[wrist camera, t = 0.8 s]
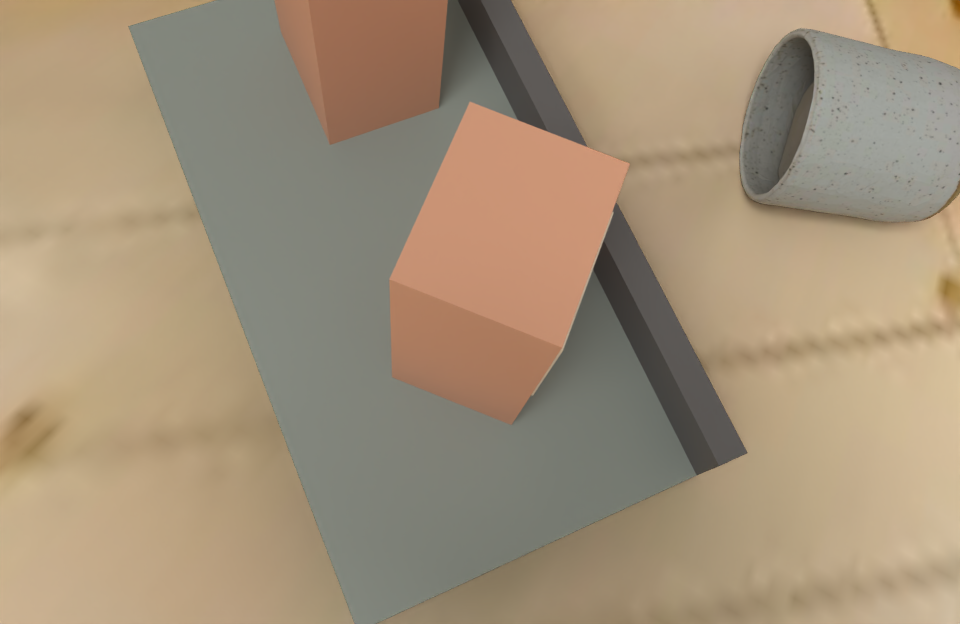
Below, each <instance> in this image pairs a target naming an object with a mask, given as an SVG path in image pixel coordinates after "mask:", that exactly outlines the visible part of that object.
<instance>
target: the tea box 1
mask: <svg viewBox="0 0 960 624" xmlns="http://www.w3.org/2000/svg"><path fill="white" fill-rule="evenodd" d="M274 1H275V6H276V11H277V15H278V20H279V25H280V30H281V33H282V35H283V38H284V40H285V42H286V45H287V47H288V49H289V52H290V54H291V56H292V59H293V61H294V63H295V65H296V68H297V70H298V72H299V75H300V77H301V79H302V82H303V84H304V86H305V89H306V91H307V93H308V95H309V98H310V100H311V102H312V105H313V107H314V109H315V112H316V114H317V116H318V119H319V121H320V123H321V125H322V128H323V130H324V132H325V135H326V137H327V139H328V142H329V144H330V145H331V144H334V143H337V142H340V141H343V140H346V139H349V138H352V137H355V136H358V135H361V134H364V133H367V132H370V131H373V130H376V129H379V128H382V127H385V126H388V125H391V124H394V123H397V122H399V121H402V120H405V119H408V118H411V117H414V116H417V115H420V114H423V113H426V112H429V111H432V110H435V109H438V108H439V100H440V88H441V76H442V64H443V52H444V40H445V28H446V16H447V4H448V0H274Z"/></svg>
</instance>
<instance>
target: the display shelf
mask: <svg viewBox="0 0 960 624" xmlns="http://www.w3.org/2000/svg"><path fill="white" fill-rule="evenodd" d="M128 27H129V29H130V32H131V35H132V37H133V40H134V42H135V45H136V48H137V50H138V53H139V56H140V58H141V61H142V64H143V66H144V69H145V72H146V74H147V77H148V79H149V82H150V85H151V87H152V90H153V93H154V95H155V98H156V101H157V103H158V106H159V108H160V111H161V114H162V116H163V119H164V122H165V124H166V127H167V130H168V132H169V135H170V138H171V140H172V143H173V145H174V148H175V151H176V153H177V156H178V159H179V161H180V164H181V167H182V169H183V172H184V174H185V177H186V180H187V182H188V185H189V188H190V190H191V193H192V196H193V198H194V201H195V204H196V206H197V209H198V211H199V214H200V217H201V219H202V222H203V225H204V227H205V230H206V233H207V235H208V238H209V240H210V243H211V246H212V248H213V251H214V254H215V256H216V259H217V262H218V264H219V267H220V270H221V272H222V275H223V277H224V280H225V283H226V285H227V288H228V291H229V293H230V296H231V299H232V301H233V304H234V306H235V309H236V312H237V314H238V317H239V320H240V322H241V325H242V328H243V330H244V333H245V336H246V338H247V341H248V343H249V346H250V349H251V351H252V354H253V357H254V359H255V362H256V365H257V367H258V370H259V372H260V375H261V378H262V380H263V383H264V386H265V388H266V391H267V394H268V396H269V399H270V402H271V404H272V407H273V409H274V412H275V415H276V417H277V420H278V423H279V425H280V428H281V431H282V433H283V436H284V438H285V441H286V444H287V446H288V449H289V452H290V454H291V457H292V460H293V462H294V465H295V468H296V470H297V473H298V475H299V478H300V481H301V483H302V486H303V489H304V491H305V494H306V497H307V499H308V502H309V505H310V507H311V510H312V512H313V515H314V518H315V520H316V523H317V526H318V528H319V531H320V534H321V536H322V539H323V541H324V544H325V547H326V549H327V552H328V555H329V557H330V560H331V563H332V565H333V568H334V571H335V573H336V576H337V578H338V581H339V584H340V586H341V589H342V592H343V594H344V597H345V600H346V602H347V605H348V607H349V610H350V613H351V615H352V618H353V621H354V623H355V624H376V623H379V622H381V621H383V620H385V619H387V618H389V617H392V616H394V615H396V614H398V613H400V612H402V611H405V610H407V609H409V608H411V607H413V606H415V605H417V604H420V603H422V602H424V601H426V600H428V599H430V598H433V597H435V596H437V595H439V594H441V593H443V592H446V591H448V590H450V589H452V588H454V587H456V586H459V585H461V584H463V583H465V582H467V581H469V580H471V579H474V578H476V577H478V576H480V575H482V574H484V573H487V572H489V571H491V570H493V569H495V568H497V567H500V566H502V565H504V564H506V563H508V562H510V561H513V560H515V559H517V558H519V557H521V556H523V555H525V554H528V553H530V552H532V551H534V550H536V549H538V548H541V547H543V546H545V545H547V544H549V543H551V542H554V541H556V540H558V539H560V538H562V537H564V536H567V535H569V534H571V533H573V532H575V531H577V530H579V529H582V528H584V527H586V526H588V525H590V524H592V523H595V522H597V521H599V520H601V519H603V518H605V517H608V516H610V515H612V514H614V513H616V512H618V511H621V510H623V509H625V508H627V507H629V506H631V505H633V504H636V503H638V502H640V501H642V500H644V499H646V498H649V497H651V496H653V495H655V494H657V493H659V492H662V491H664V490H666V489H668V488H670V487H672V486H675V485H677V484H679V483H681V482H683V481H685V480H687V479H690V478H692V477H694V476H696V475H698V474H701V473H703V472H706V471H708V470H711V469H713V468H716V467H718V466H720V465H722V464H725V463H727V462H729V461H731V460H733V459H735V458H738V457H740V456H742V455H744V454H746V453H747V451H746V449H745V447H744V445H743V443H742V442H741V440H740V438H739V436H738V434H737V432H736V430H735V428H734V426H733V424H732V422H731V421H730V419H729V417H728V415H727V413H726V411H725V409H724V407H723V405H722V403H721V401H720V399H719V398H718V396H717V394H716V392H715V390H714V388H713V386H712V384H711V382H710V380H709V378H708V377H707V375H706V373H705V371H704V369H703V367H702V365H701V363H700V361H699V359H698V357H697V356H696V354H695V352H694V350H693V348H692V346H691V344H690V342H689V340H688V338H687V336H686V334H685V333H684V331H683V329H682V327H681V325H680V323H679V321H678V319H677V317H676V315H675V313H674V312H673V310H672V308H671V306H670V304H669V302H668V300H667V298H666V296H665V294H664V292H663V290H662V289H661V287H660V285H659V283H658V281H657V279H656V277H655V275H654V273H653V271H652V269H651V268H650V266H649V264H648V262H647V260H646V258H645V256H644V254H643V252H642V250H641V248H640V247H639V245H638V243H637V241H636V239H635V237H634V235H633V233H632V231H631V229H630V227H629V225H628V224H627V222H626V220H625V218H624V216H623V214H622V212H621V210H620V208H619V206H618V204H617V203H615V206H614V209H613V211H612V212H614V213H613V216H612V219H611V222H610V224H609V227H608V230H607V233H606V235H605V238H604V241H603V243H602V246H601V249H600V252H599V254H598V257H597V260H596V262H595V265H594V268H593V271H592V273H591V276H590V279H589V281H588V284H587V287H586V290H585V292H584V295H583V298H582V301H581V303H580V306H579V309H578V311H577V314H576V317H575V320H574V322H573V325H572V328H571V330H570V333H569V336H568V339H567V341H566V344H565V347H564V349H563V351H562V353H561V354H560V356H559V357H558V359H557V360H556V362H555V363H554V365H553V366H552V368H551V369H550V371H549V372H548V374H547V375H546V377H545V378H544V380H543V381H542V383H541V384H540V386H539V387H538V389H537V390H536V392H535V393H534V395H533V396H532V395H531V396H530V398H529V399H528V401H527V402H526V404H525V405H524V407H523V408H522V410H521V411H520V413H519V414H518V416H517V417H516V419H515V420H514V422H513V423H512V425H510V424H507V423H505V422H502V421H500V420H497V419H495V418H492V417H490V416H487V415H485V414H482V413H480V412H477V411H475V410H472V409H470V408H467V407H465V406H462V405H460V404H457V403H455V402H452V401H450V400H447V399H445V398H442V397H440V396H437V395H435V394H432V393H430V392H427V391H425V390H422V389H420V388H417V387H415V386H412V385H410V384H407V383H405V382H402V381H400V380H397V379H395V378H392V359H391V322H390V285H389V279H390V277H391V274H392V272H393V270H394V268H395V266H396V263H397V261H398V259H399V257H400V255H401V252H402V250H403V248H404V246H405V244H406V241H407V239H408V237H409V235H410V233H411V230H412V228H413V226H414V224H415V222H416V219H417V217H418V215H419V213H420V211H421V208H422V206H423V204H424V202H425V199H426V197H427V195H428V193H429V191H430V188H431V186H432V184H433V182H434V180H435V177H436V175H437V173H438V171H439V169H440V166H441V164H442V162H443V160H444V158H445V155H446V153H447V151H448V149H449V147H450V144H451V142H452V140H453V138H454V136H455V133H456V131H457V129H458V127H459V125H460V122H461V120H462V118H463V116H464V114H465V111H466V109H467V107H468V105H469V103H470V102H472V103H475V104H477V105H480V106H482V107H485V108H488V109H490V110H493V111H495V112H498V113H501V114H503V115H506V116H508V117H511V118H513V119H516V120H519V121H521V122H524V123H526V124H529V125H532V126H534V127H537V128H539V129H542V130H544V131H547V132H550V133H552V134H555V135H557V136H560V137H563V138H565V139H568V140H570V141H573V142H575V143H578V144H581V145H583V146H586V147H587V145H586V143H585V141H584V139H583V138H582V136H581V134H580V132H579V130H578V128H577V126H576V124H575V122H574V120H573V118H572V116H571V115H570V113H569V111H568V109H567V107H566V105H565V103H564V101H563V99H562V97H561V95H560V94H559V92H558V90H557V88H556V86H555V84H554V82H553V80H552V78H551V76H550V74H549V73H548V71H547V69H546V67H545V65H544V63H543V61H542V59H541V57H540V55H539V53H538V51H537V50H536V48H535V46H534V44H533V42H532V40H531V38H530V36H529V34H528V32H527V30H526V29H525V27H524V25H523V23H522V21H521V19H520V17H519V15H518V13H517V11H516V9H515V7H514V6H513V4H512V2H511V0H448V4H447V16H446V28H445V40H444V52H443V64H442V76H441V88H440V100H439V108H438V109H435V110H432V111H429V112H426V113H423V114H420V115H417V116H414V117H411V118H408V119H405V120H402V121H399V122H397V123H394V124H391V125H388V126H385V127H382V128H379V129H376V130H373V131H370V132H367V133H364V134H361V135H358V136H355V137H352V138H349V139H346V140H343V141H340V142H337V143H334V144H331V145H330V144H329V142H328V139H327V137H326V135H325V132H324V130H323V128H322V125H321V123H320V121H319V119H318V116H317V114H316V112H315V109H314V107H313V105H312V102H311V100H310V98H309V95H308V93H307V91H306V89H305V86H304V84H303V82H302V79H301V77H300V75H299V72H298V70H297V68H296V65H295V63H294V61H293V59H292V56H291V54H290V52H289V49H288V47H287V45H286V42H285V40H284V38H283V35H282V33H281V30H280V25H279V20H278V15H277V11H276V6H275V1H274V0H216V1H213V2H209V3H206V4H203V5H199V6H196V7H192V8H189V9H186V10H182V11H179V12H175V13H172V14H169V15H165V16H162V17H158V18H155V19H152V20H148V21H145V22H141V23H138V24H135V25H131V26H128Z"/></svg>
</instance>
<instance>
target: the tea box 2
mask: <svg viewBox="0 0 960 624" xmlns="http://www.w3.org/2000/svg"><path fill="white" fill-rule="evenodd" d="M629 165H630V163H627V162H624V161H622V160H619V159H617V158H614V157H612V156H609V155H606V154H604V153H601V152H599V151H596V150H594V149H591V148H588V147H586V146H583V145H581V144H578V143H575V142H573V141H570V140H568V139H565V138H563V137H560V136H557V135H555V134H552V133H550V132H547V131H544V130H542V129H539V128H537V127H534V126H532V125H529V124H526V123H524V122H521V121H519V120H516V119H513V118H511V117H508V116H506V115H503V114H501V113H498V112H495V111H493V110H490V109H488V108H485V107H482V106H480V105H477V104H475V103H472V102H470V103H469V105H468V107H467V109H466V111H465V114H464V116H463V118H462V120H461V122H460V125H459V127H458V129H457V131H456V133H455V136H454V138H453V140H452V142H451V144H450V147H449V149H448V151H447V153H446V155H445V158H444V160H443V162H442V164H441V166H440V169H439V171H438V173H437V175H436V177H435V180H434V182H433V184H432V186H431V188H430V191H429V193H428V195H427V197H426V199H425V202H424V204H423V206H422V208H421V211H420V213H419V215H418V217H417V219H416V222H415V224H414V226H413V228H412V230H411V233H410V235H409V237H408V239H407V241H406V244H405V246H404V248H403V250H402V252H401V255H400V257H399V259H398V261H397V263H396V266H395V268H394V270H393V272H392V274H391V277H390V279H389V285H390V322H391V359H392V378H395V379H397V380H400V381H402V382H405V383H407V384H410V385H412V386H415V387H417V388H420V389H422V390H425V391H427V392H430V393H432V394H435V395H437V396H440V397H442V398H445V399H447V400H450V401H452V402H455V403H457V404H460V405H462V406H465V407H467V408H470V409H472V410H475V411H477V412H480V413H482V414H485V415H487V416H490V417H492V418H495V419H497V420H500V421H502V422H505V423H507V424H510V425H512V423H513V422H514V420H515V419H516V417H517V416H518V414H519V413H520V411H521V410H522V408H523V407H524V405H525V404H526V402H527V401H528V399H529V398H530V396H531V395H532V396H533V395H534V393H535V392H536V390H537V389H538V387H539V386H540V384H541V383H542V381H543V380H544V378H545V377H546V375H547V374H548V372H549V371H550V369H551V368H552V366H553V365H554V363H555V362H556V360H557V359H558V357H559V356H560V354H561V353H562V351H563V349H564V347H565V344H566V341H567V339H568V336H569V333H570V330H571V328H572V325H573V322H574V320H575V317H576V314H577V311H578V309H579V306H580V303H581V301H582V298H583V295H584V292H585V290H586V287H587V284H588V281H589V279H590V276H591V273H592V271H593V268H594V265H595V262H596V260H597V257H598V254H599V252H600V249H601V246H602V243H603V241H604V238H605V235H606V233H607V230H608V227H609V224H610V222H611V219H612V216H613V213H614V212H612V211H613V209H614V206H615V203H616V200H617V198H618V195H619V192H620V190H621V187H622V184H623V181H624V179H625V176H626V173H627V171H628V168H629Z"/></svg>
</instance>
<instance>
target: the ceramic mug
mask: <svg viewBox="0 0 960 624" xmlns="http://www.w3.org/2000/svg"><path fill="white" fill-rule="evenodd" d="M740 174H741V181H742V186H743V188H744V190H745V192H746V194H747V196H748V197H750V198H751V199H752V200H754V201H756V202H758V203H762V204H769V205H775V206H782V207H790V208H797V209H804V210H810V211H815V212H823V213H830V214H838V215H845V216H852V217H857V218H862V219H868V220H873V221H882V222H916V221H921V220H925V219H928V218H930V217H932V216H934V215H936V214H937V213H939V212H940V211H942V210H943V209H944V208H945V207H947V206H948V205H949V204H950V203H951V202H952V201H953V200H954V199H955V198H956V197H957V195H958V194H959V193H960V70H959V69H958V68H956V67H953V66H950V65H948V64H945V63H943V62H940V61H938V60H935V59H932V58H929V57H925V56H922V55H917V54H911V53H906V52H901V51H896V50H892V49H887V48H883V47H879V46H875V45H872V44H868V43H864V42H860V41H856V40H852V39H848V38H844V37H840V36H837V35H833V34H829V33H825V32H820V31H816V30H811V29H797V30H795V31H792V32H790V33H789V34H787V35H786V36H785V37H784V38H783V39H782V40H781V41H780V42H779V43H778V44H777V45H776V46H775V48H774V49H773V51H772V53H771V54H770V56H769V58H768V59H767V61H766V63H765V65H764V67H763V69H762V71H761V73H760V75H759V77H758V79H757V82H756V85H755V87H754V90H753V93H752V95H751V98H750V102H749V106H748V109H747V112H746V116H745V120H744V124H743V132H742V140H741V146H740Z"/></svg>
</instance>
